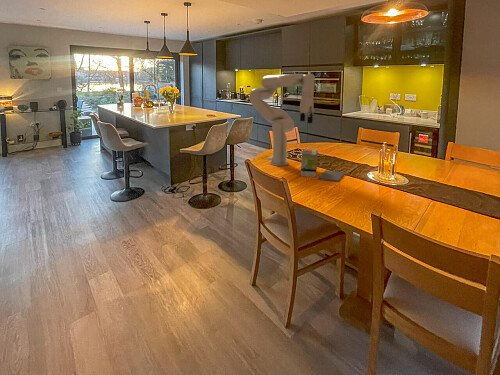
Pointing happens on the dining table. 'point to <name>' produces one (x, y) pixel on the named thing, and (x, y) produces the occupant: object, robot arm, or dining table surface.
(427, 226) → the dining table surface
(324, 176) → the display board
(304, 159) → the tea box
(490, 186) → the dining table surface
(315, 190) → the dining table surface
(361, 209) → the dining table surface
